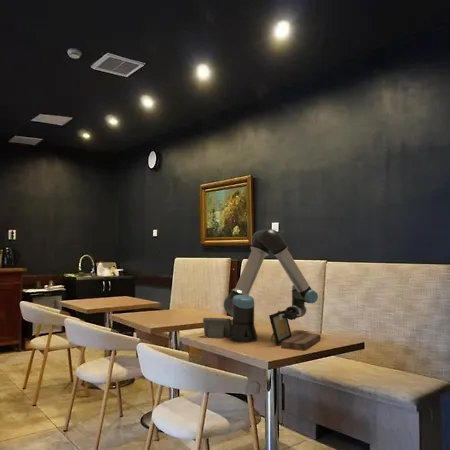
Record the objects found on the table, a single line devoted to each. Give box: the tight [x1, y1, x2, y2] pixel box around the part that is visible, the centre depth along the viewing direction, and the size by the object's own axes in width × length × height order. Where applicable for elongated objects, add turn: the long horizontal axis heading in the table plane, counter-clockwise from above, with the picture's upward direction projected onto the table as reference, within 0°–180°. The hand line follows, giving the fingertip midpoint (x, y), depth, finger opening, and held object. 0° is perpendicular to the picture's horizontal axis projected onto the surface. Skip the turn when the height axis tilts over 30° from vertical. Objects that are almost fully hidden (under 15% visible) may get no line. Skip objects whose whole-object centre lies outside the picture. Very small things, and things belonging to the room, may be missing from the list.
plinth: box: [280, 332, 321, 351], centre depth 226 cm, size 12×28×3 cm, turn 152°
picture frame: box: [268, 309, 293, 346], centre depth 234 cm, size 23×9×15 cm, turn 154°
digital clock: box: [202, 317, 232, 339], centre depth 246 cm, size 16×9×11 cm, turn 66°
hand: (278, 317), depth 233 cm, fingers closed
